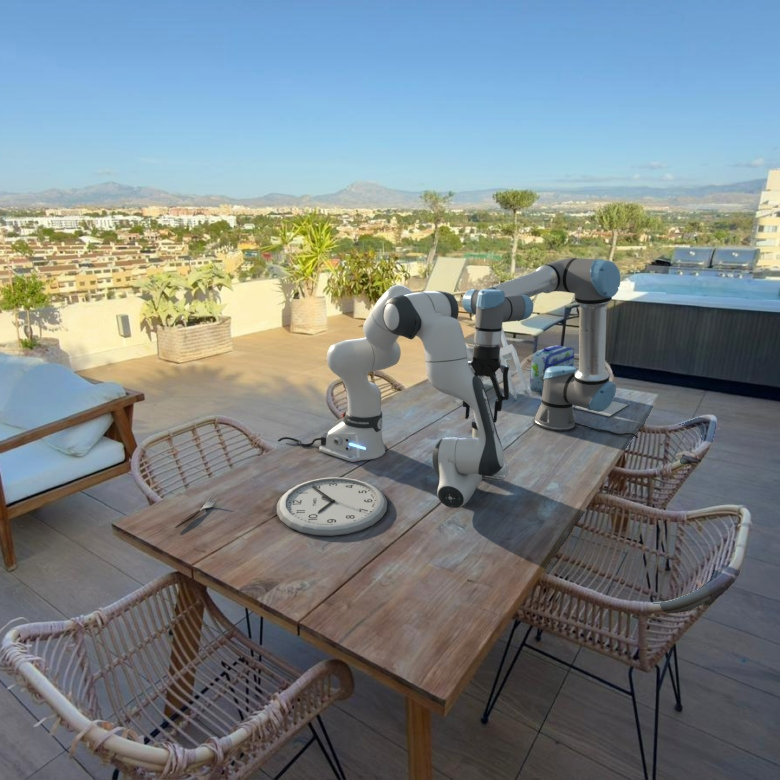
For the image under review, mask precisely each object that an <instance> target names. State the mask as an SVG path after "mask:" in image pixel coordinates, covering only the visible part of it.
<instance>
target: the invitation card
mask: <svg viewBox="0 0 780 780" xmlns="http://www.w3.org/2000/svg"><path fill="white" fill-rule="evenodd" d="M628 406H629V404H627V403H623V402H618V401H614V400H613V401H612V402H611V404H610V405H609V406H608V408H606V409H605V410H604V411H601V412H597V411H593V410H588V409H586V408H583V407H580V406H576V405H575V406H574V407H573V409H575V410H581V411H584V412H587V413H593V414H596V415H600V416H604V417H608V418H609V417H611V416H613V415H614V414H616V413H617V412H619V411H621V410H623V409H624V408H626V407H628Z"/></svg>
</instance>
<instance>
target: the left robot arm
mask: <svg viewBox="0 0 780 780" xmlns="http://www.w3.org/2000/svg"><path fill="white" fill-rule="evenodd" d="M459 311H460V307H459V303H458V300H457V298H456V297H455V296H454V295H453V294H452V293H450V292H447V291H444V290H443V291H442V290H435V291H418V292H413V291H412V290H411V289H410V288H408V287H407V286H404V285H402V284H396V285H392V286H390V287H389V288H388V289H387V290H386V291H384V292H383V294H382V295H381V296H380V297H379V298H378V300H377V301H376V302H375V304H374V306H373V307H372V308H371V310H370V312H369V314H368V315H367V317H366V318H365V320H364V322H363V324H362V325H363V326H362V331H363V335H364V337H361V338H354V339H346V340H342V341H339V342H337V343H333V344H331V345H330V347H329V348H328V349H327V353H326V364H327V366H328V368H329V370H330V371H331V372H332V373H333V374H334V375H336V376H337V377H339V379H340V380H341V381H342V382H343V385H344V387H345V390H346V402H347V409H346V410H345V411H343V413H341V414H340V419H342V421H340V422H339V423H337V424H336V425H334V426H333V427H332V428H330V429H329V431H328V432H324V433H323V435H321V436H320V437H316V438H313V440H311V442H309V443H302V441H301V440H299V439H296V438H294V437H289V436H283V437H280V438H279V439H277V442H281V441H283V440H290V441H293V442H296V443H298V444H299V446H302V447H309V446H312V445H314V443H315V442H317V441H320V445H319V449H318V451H319V452H320V453H324V454H327V455H330V456H332V457H335V458H339V459H340V460H341V459H342V460H344V461H347V462H351V463H355V462H360V461H366V460H367V461H368V460H374V459H378V458H380V457H383V456H384V455H385V454H386V448H385V444H384V440H383V431H382V429H383V411H382V390H381V389H380V387H379V386H378V385H377V384H375V383H374V382H372V381H369V377H368V373H370V372H376V371H382V370H386V369H389V368H391V367H393V366H396V365H397V364H398V363H399V361H400V359H401V355H402V353H401V352H402V351H401V347H400V344H399V343H398V339H399V338H400V337H404V338H406V339H408V340H414V339H415V337H417V338H418V339H419V340H421V342H422V344H423V354H424V362H425V363H424V365H425V373H426V378H427V380H428V382H429V383H430V385H431V386H432V387H433V388H434V389H436V390H437V391H439V392H440V393H443V394H445V395H448V396H450V397H454V398H456V399H459V400H461V401H462V402H463V401H464V402H466V403H467V404H468V405H469V406H470V409H471V410H472V413H473V418H475V421H476V425H477V429H478V433H479V436H480V437H478V438H472V437H462V436H444V437H442V438H441V439H439V441H438V442H437V443H436V445H435V447H434V449H433V451H432V467H433V470H434V472H435V474H436V476H437V478H438V479H439V482H438V486H437V492H436V493H437V498H438V500H439V501H440V503H441V504H443V505H444V506H445V507H448V508H452V509H459V508H461V507H464V506H465V505H466V504H467V503H468V502H469V501H470V499H471V498H472V497H473V495H474V494H475V491H476V489H477V488H478V487H479V485H480V483H481V482H482V480H487V481H493V482H501V481H504V480H505V479H506V477H507V475H509V467H510V466H509V465H510V464H509V463H508V462H507V461H505V452H504V449H503V445H502V441H501V439H500V437H499V434H498V431H497V426H496V424H495V423H496V422H494V414H493V412H492V408H491V404H490V400H489V397H488V394H487V390H486V388H485V384H484V382H483V380H481V379H480V378H479V377H477V376H475V375H474V374H473V372H472V371H471V369H470V367H469V364H468V359H467V350H466V344H467V343H466V339H465V335H464V332H463V327H462V325H461V323H460V321H459V320H458V317H459ZM465 343H466V344H465Z"/></svg>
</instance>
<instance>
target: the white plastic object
mask: <svg viewBox="0 0 780 780" xmlns="http://www.w3.org/2000/svg"><path fill="white" fill-rule="evenodd" d="M465 344H466V350H467V359H468V362H471V361H472V359H473V349H474V346H469V345H468V343H466V342H465ZM501 345H502V347H500V355H499V362H500V364H502V365H505V366H506V365H508V361H510V360H513V363H514V366H515V369H516V372H517V376H518V380H519V382H520V385H521V389H522V391H523V393H524V395H525V396H526V397H528V396H531V395H530V389H529V388H528V387H529V386H528V384H527V381H526V378H525V375H524V371H523V369H522V368H523V367H522V366H521V362H520V359H519V355H518V352H517V349H516V347H515V346H514V345H513V343H511V344H508V341H507V337H506V334H505V331H504V328H503V326H502V332H501ZM470 369H471V371H472V372H473V374H474V373H475V371H474V369H473V367H472V366H470ZM478 377H479V378H480V379H481V380H482V381H484V378H485V377H486V376H479V375H478ZM508 384H509V393H510V394H511V395H512V397H513V398H514V399H515V400H517V392H516V391H517V390H516V388H515V385H514V381H513V378H512V375H511V371H510V369H509V370H508Z"/></svg>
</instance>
